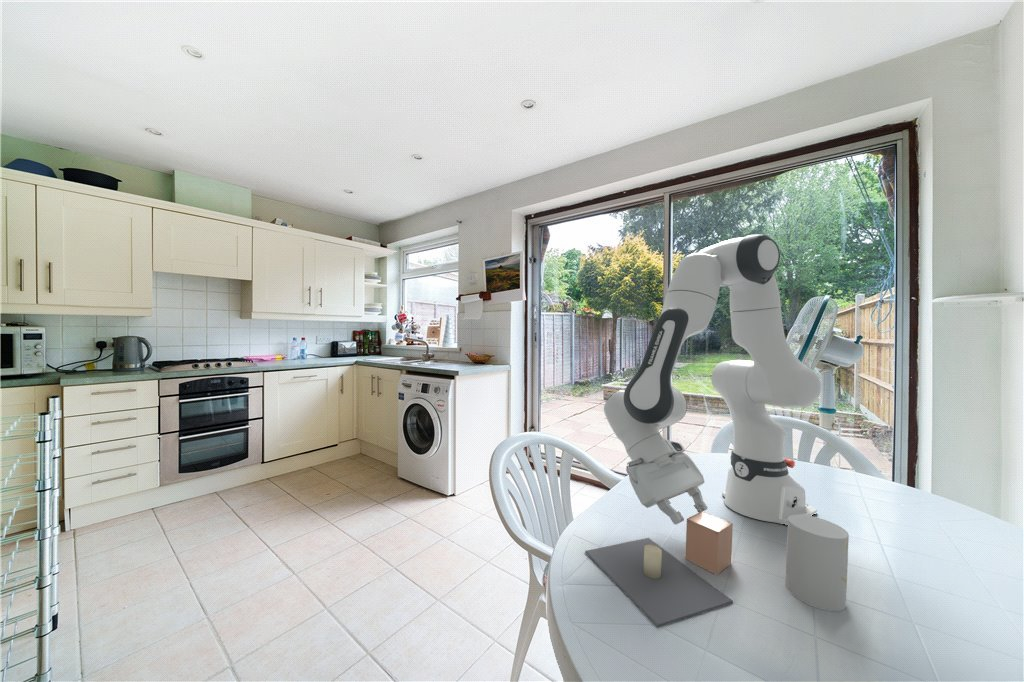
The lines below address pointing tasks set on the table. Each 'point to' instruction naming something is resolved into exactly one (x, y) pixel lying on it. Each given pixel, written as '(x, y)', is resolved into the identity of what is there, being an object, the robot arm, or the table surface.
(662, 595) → the mat
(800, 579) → the white oval cylinder
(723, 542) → the light orange rectangular block
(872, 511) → the table surface
